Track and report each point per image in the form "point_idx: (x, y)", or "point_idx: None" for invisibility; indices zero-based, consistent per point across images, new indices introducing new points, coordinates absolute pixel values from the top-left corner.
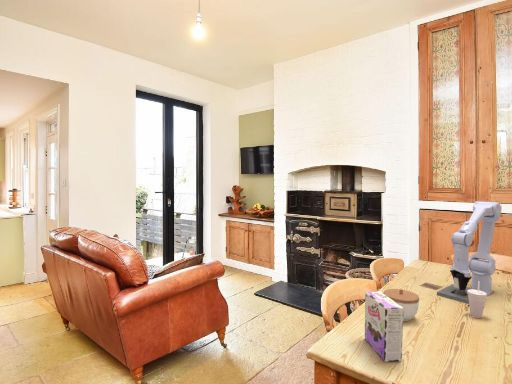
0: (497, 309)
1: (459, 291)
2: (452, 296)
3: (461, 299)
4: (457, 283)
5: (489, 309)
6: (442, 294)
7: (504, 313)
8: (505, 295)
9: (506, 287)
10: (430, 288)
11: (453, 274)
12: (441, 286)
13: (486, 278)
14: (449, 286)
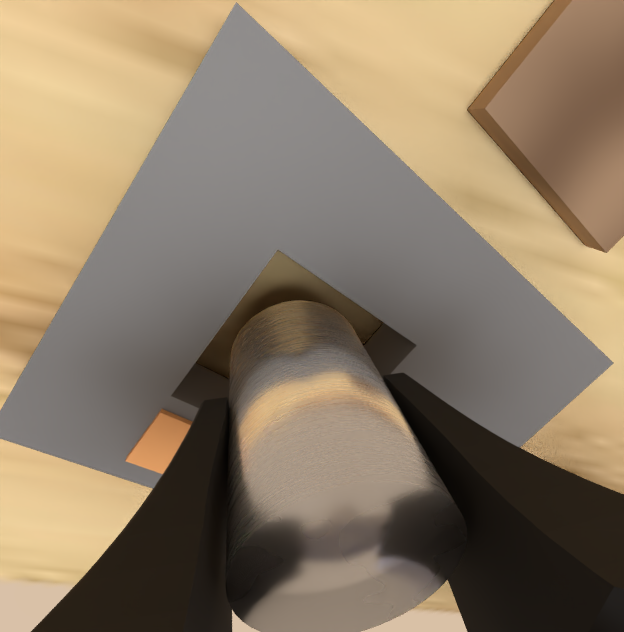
0: (92, 544)
1: (232, 376)
2: (102, 236)
3: (47, 330)
4: (245, 442)
5: (52, 500)
6: (183, 99)
7: (8, 568)
8: (436, 604)
9: None
10: (552, 28)
11: (528, 535)
12: (614, 236)
13: None
14: (536, 313)
